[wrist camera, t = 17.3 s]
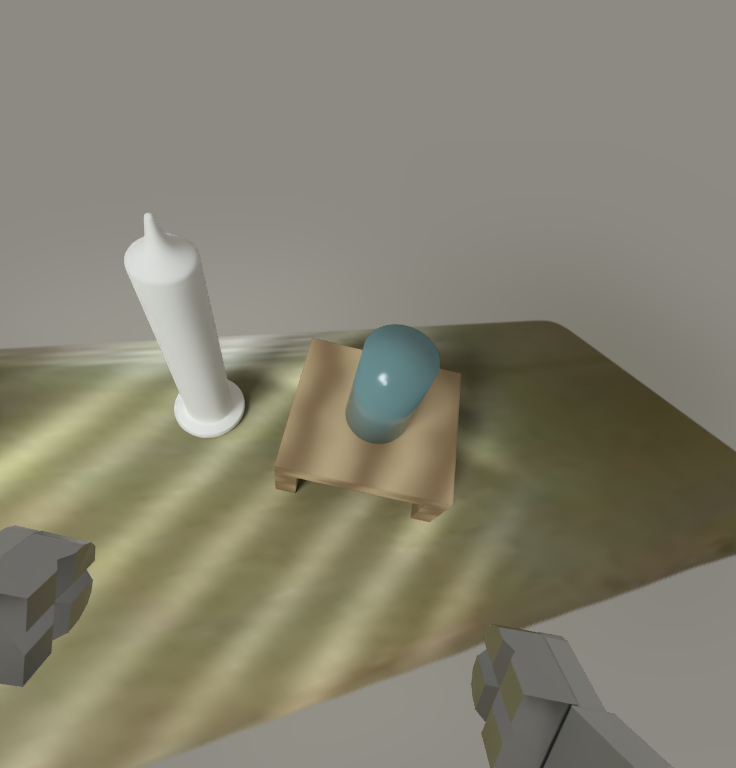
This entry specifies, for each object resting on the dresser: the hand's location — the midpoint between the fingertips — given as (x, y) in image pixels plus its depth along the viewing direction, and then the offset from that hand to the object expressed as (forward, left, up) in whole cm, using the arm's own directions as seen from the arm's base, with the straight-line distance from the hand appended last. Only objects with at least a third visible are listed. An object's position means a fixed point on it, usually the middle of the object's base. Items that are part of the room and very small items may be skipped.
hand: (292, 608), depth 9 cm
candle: (-13, +18, -34) cm, 40 cm away
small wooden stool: (+4, +18, -33) cm, 38 cm away
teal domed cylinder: (+4, +18, -26) cm, 32 cm away
